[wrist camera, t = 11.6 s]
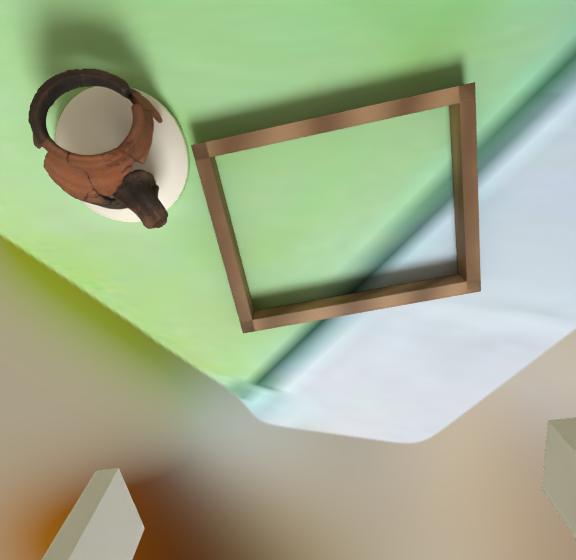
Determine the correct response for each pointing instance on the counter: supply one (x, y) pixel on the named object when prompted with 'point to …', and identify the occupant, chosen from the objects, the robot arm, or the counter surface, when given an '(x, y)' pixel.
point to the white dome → (110, 134)
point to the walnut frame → (461, 283)
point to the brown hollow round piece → (106, 166)
